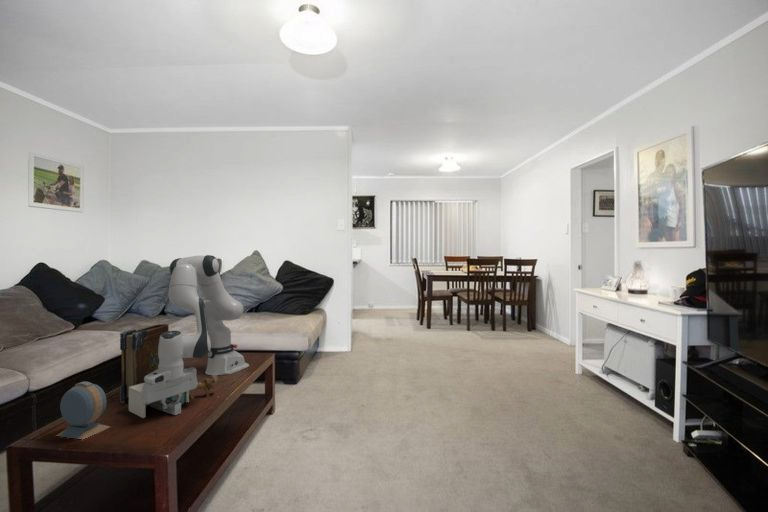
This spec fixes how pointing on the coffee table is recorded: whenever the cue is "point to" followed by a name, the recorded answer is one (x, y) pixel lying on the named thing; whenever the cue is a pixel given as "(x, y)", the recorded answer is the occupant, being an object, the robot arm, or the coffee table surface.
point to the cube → (176, 396)
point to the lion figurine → (206, 385)
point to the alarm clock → (83, 410)
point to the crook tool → (173, 406)
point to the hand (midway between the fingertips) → (171, 406)
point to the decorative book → (139, 356)
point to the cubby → (136, 401)
